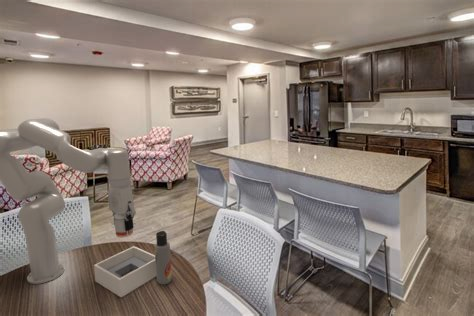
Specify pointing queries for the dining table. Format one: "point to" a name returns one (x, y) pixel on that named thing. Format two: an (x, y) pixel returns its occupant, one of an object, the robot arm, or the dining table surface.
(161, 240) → the lotion bottle
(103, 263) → the box
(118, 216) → the pill bottle
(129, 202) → the robot arm
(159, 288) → the dining table surface
